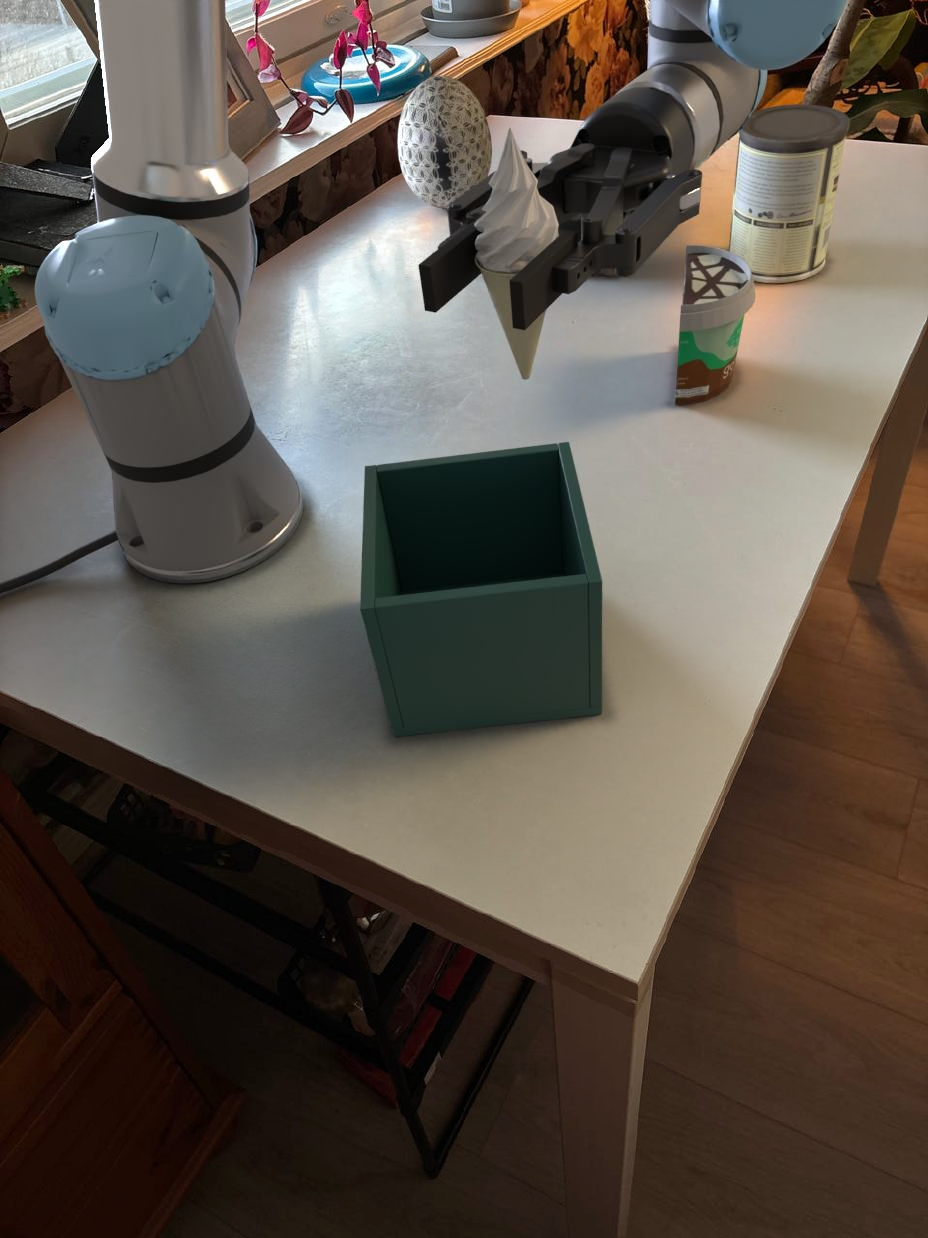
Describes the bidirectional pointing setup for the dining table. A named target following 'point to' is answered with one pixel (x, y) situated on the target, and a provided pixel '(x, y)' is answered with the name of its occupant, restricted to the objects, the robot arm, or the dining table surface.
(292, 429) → the dining table surface
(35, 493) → the dining table surface
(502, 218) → the ice cream cone
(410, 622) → the waste bin
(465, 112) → the decorative egg
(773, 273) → the coffee can
